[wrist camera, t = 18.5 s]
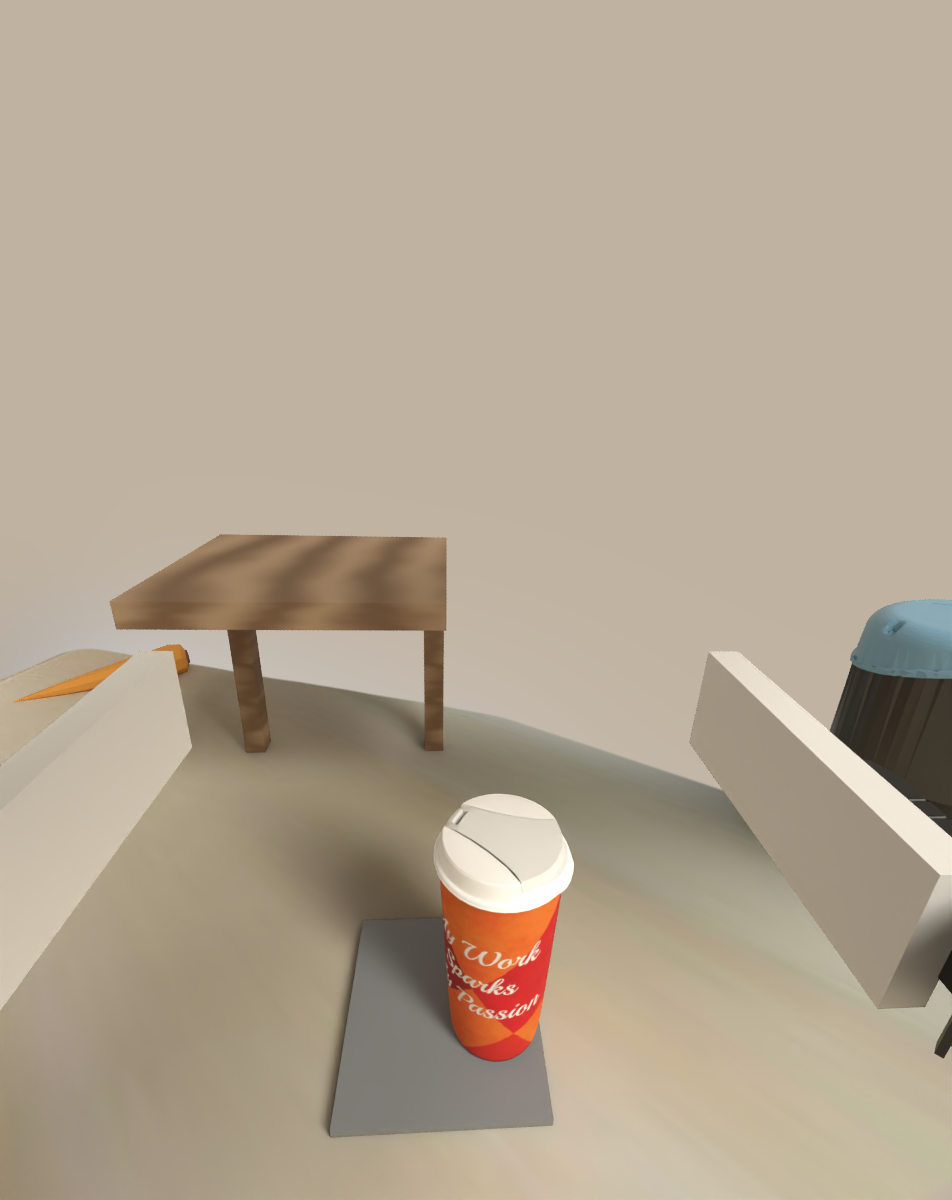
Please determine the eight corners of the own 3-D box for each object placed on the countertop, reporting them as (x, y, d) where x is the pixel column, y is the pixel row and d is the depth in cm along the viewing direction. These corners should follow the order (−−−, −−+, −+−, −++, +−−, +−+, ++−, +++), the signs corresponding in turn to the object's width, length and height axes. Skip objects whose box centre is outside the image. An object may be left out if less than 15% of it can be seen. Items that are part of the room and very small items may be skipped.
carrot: (193, 670, 76) (184, 640, 76) (191, 672, 72) (182, 641, 72) (23, 716, 67) (12, 683, 67) (10, 722, 63) (-2, 687, 63)
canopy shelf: (444, 738, 61) (446, 537, 52) (444, 867, 44) (446, 603, 35) (251, 740, 59) (220, 534, 51) (175, 874, 43) (109, 601, 34)
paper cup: (409, 1038, 32) (404, 854, 27) (470, 936, 38) (474, 773, 34) (529, 1116, 28) (546, 918, 24) (573, 989, 35) (593, 815, 30)
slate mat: (522, 921, 40) (523, 915, 40) (552, 1125, 29) (553, 1119, 28) (363, 925, 39) (363, 920, 39) (330, 1137, 28) (329, 1130, 28)
